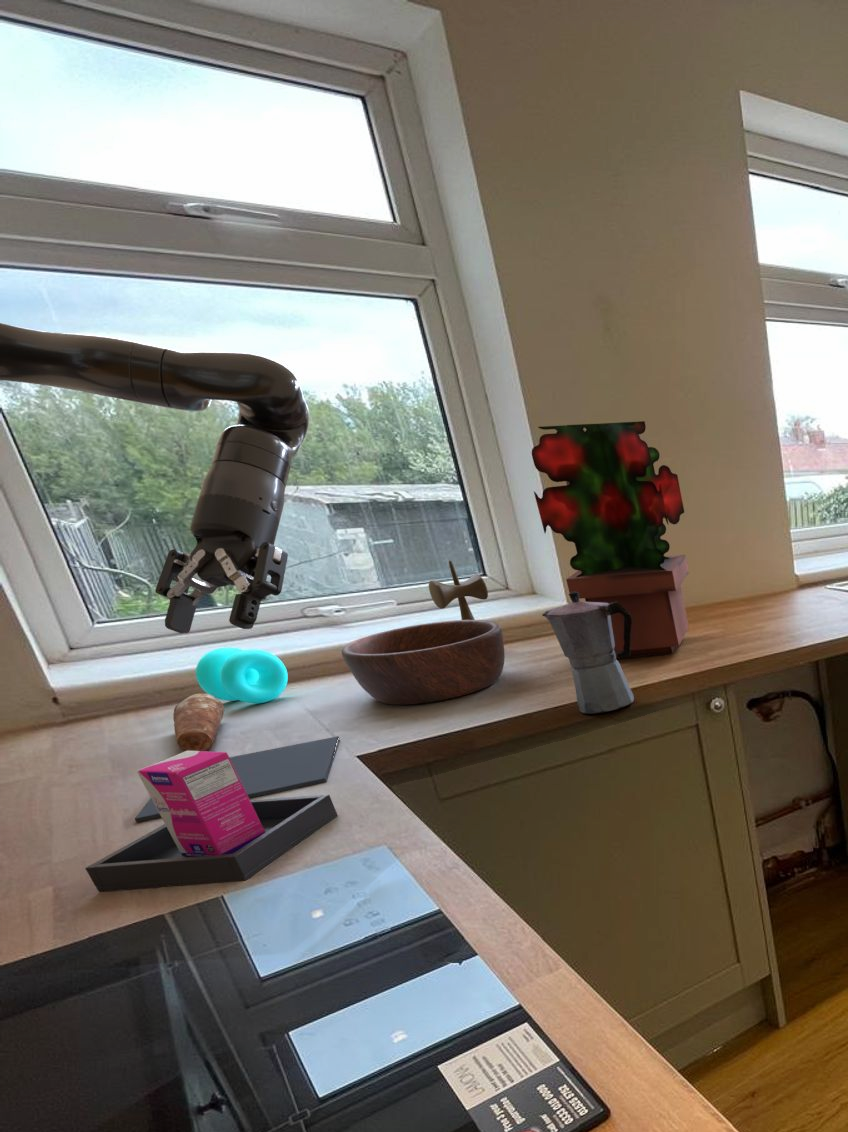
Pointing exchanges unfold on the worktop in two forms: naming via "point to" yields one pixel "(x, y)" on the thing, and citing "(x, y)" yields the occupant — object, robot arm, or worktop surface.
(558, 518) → the potted plant
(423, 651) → the wooden bowl
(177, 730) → the bread
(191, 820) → the supplement box
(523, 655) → the worktop surface
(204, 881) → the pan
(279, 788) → the mat
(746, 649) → the worktop surface
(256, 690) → the donuts
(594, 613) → the moka pot
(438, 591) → the kendama
